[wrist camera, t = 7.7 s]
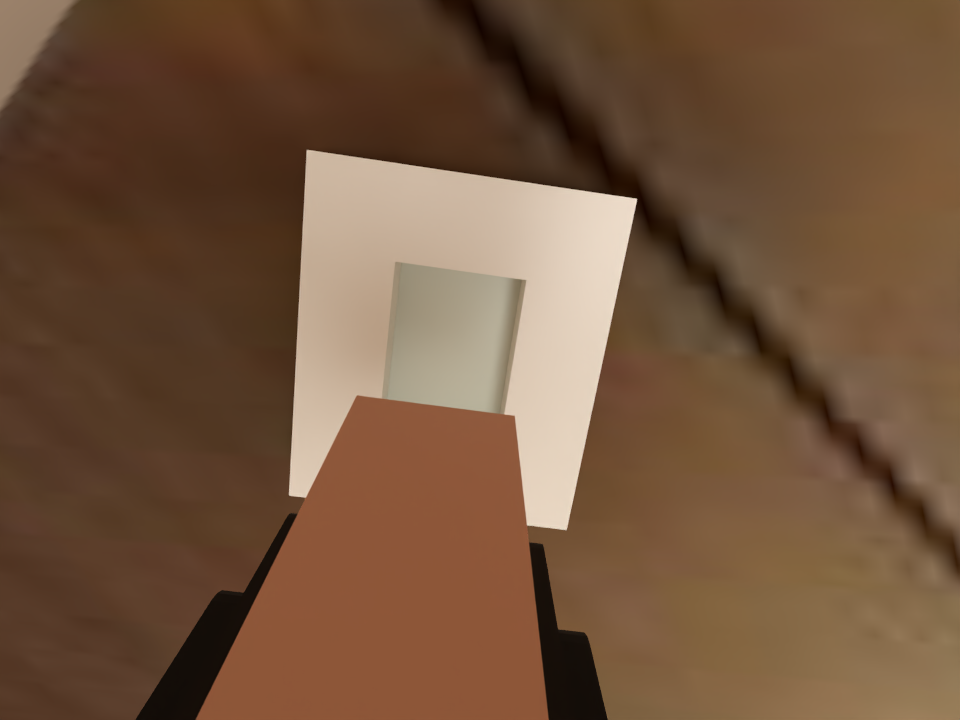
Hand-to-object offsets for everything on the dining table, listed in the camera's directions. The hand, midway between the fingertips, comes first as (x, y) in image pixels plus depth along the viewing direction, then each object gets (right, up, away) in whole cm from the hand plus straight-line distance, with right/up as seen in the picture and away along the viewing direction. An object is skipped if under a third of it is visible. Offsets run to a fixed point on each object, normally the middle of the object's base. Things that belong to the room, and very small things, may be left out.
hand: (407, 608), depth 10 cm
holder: (0, +5, +16) cm, 17 cm away
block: (0, +1, +2) cm, 2 cm away
